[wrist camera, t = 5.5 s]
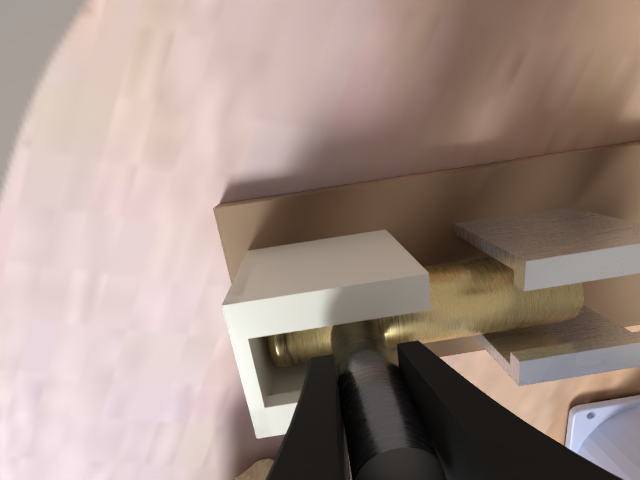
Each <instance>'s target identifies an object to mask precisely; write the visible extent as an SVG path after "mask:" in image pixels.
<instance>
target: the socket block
mask: <svg viewBox="0 0 640 480" xmlns="http://www.w3.org/2000/svg"><path fill="white" fill-rule="evenodd" d="M222 309H223V313H224V316H225V320H226V324H227V328H228V332H229V335H230V339H231V343H232V347H233V351H234V355H235V358H236V362H237V366H238V370H239V374H240V377H241V381H242V385H243V389H244V393H245V396H246V400H247V404H248V408H249V412H250V415H251V419H252V423H253V427H254V431H255V435H256V438H257V439H259V438H265V437H271V436H277V435H283V434H286V432H287V430H288V427H289V425H290V422H291V420H292V417H293V414H294V411H295V408H296V405H297V403H298V400H299V397H300V394H301V390H302V387H303V384H304V380H305V376H306V371H307V366H308V362H304V363H298V364H294V365H293V366H288V367H282V368H275V367H274V365H273V362H272V359H271V356H270V351H269V347H268V341H267V336H269V335H275V334H282V333H288V332H294V331H301V330H307V329H313V328H320V327H326V326H332V325H339V324H345V323H351V322H358V321H364V320H370V319H376V318H383V317H389V316H395V315H402V314H408V313H414V312H421V311H427V310H431V307H430V282H429V273H428V272H427V271H426V270H425V269H424V268H423V267H422V266H421V265H420V264H419V263H418V262H417V261H416V259H415V258H414V257H413V256H412V255H411V254H410V253H409V252H408V251H407V250H406V249H405V248H404V247H403V246H402V245H401V244H400V243H399V242H398V241H397V240H396V239H395V238H394V237H393V236H392V235H391V234H390V233H389V232H388V231H387V230H379V231H373V232H366V233H359V234H353V235H346V236H340V237H333V238H327V239H320V240H314V241H307V242H301V243H294V244H288V245H281V246H275V247H268V248H262V249H255V250H248V251H247V253H246V255H245V257H244V259H243V262H242V264H241V266H240V268H239V270H238V272H237V274H236V276H235V278H234V281H233V283H232V285H231V287H230V289H229V291H228V293H227V295H226V298H225V300H224V302H223V304H222ZM391 351H392V353H393V356H394V358H395V360H396V362H397V365H398V367H399V364H398V352H397V348H392V349H391Z"/></svg>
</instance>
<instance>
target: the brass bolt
mask: <svg viewBox="0 0 640 480" xmlns="http://www.w3.org/2000/svg"><path fill="white" fill-rule="evenodd" d="M423 268H424V269H425V270H426V271H427V272H428V273H429V282H430V307H431V310H427V311H421V312H414V313H408V314H402V315H395V316H389V317H383V318H376V319H370V320H364V321H358V322H351V323H345V324H339V325H332V326H326V327H320V328H313V329H307V330H301V331H294V332H288V333H282V334H275V335H269V336H267V341H268V347H269V351H270V356H271V359H272V362H273V365H274V367H275V368H282V367H288V366H293V365H294V364H298V363H304V362H308V361H309V360H310V359H311V358H312V357H317V356H323V355H330V354H333V357H334V363H335V369H336V376H337V382H338V389H339V395H340V402H341V409H342V417H343V423H344V429H345V436H346V442H347V448H348V455H349V461H350V467H351V474H352V480H447V479H446V475H445V472H444V469H443V467H442V464H441V462H440V460H439V458H438V455H437V453H436V451H435V449H434V446H433V444H432V442H431V439H430V437H429V435H428V433H427V430H426V428H425V426H424V424H423V421H422V419H421V417H420V415H419V412H418V410H417V408H416V405H415V403H414V401H413V399H412V396H411V394H410V392H409V390H408V387H407V385H406V383H405V381H404V378H403V376H402V374H401V372H400V369H399V367H398V365H397V362H396V360H395V358H394V356H393V353H392V351H391V349H392V348H397V344H398V343H405V342H411V341H417V340H418V341H420V342H421V343H422V344H423V343H429V342H435V341H441V340H448V339H454V338H460V337H466V336H473V335H479V334H485V333H491V332H498V331H504V330H510V329H516V328H523V327H529V326H535V325H541V324H548V323H554V322H560V321H566V320H571V319H573V318H575V317H576V316H577V315H578V314H579V313H580V311H581V309H582V306H583V302H584V290H583V285H582V282H581V283H574V284H568V285H562V286H555V287H549V288H543V289H536V290H530V291H523V290H521V289H520V288H518V287H517V286H515V285H514V270H513V269H511V268H510V267H508V266H506V265H505V264H503V263H501V262H500V261H498V260H496V259H495V258H493V257H486V258H479V259H473V260H467V261H460V262H454V263H447V264H441V265H435V266H428V267H423Z"/></svg>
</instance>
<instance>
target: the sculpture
mask: <svg viewBox="0 0 640 480" xmlns="http://www.w3.org/2000/svg"><path fill="white" fill-rule="evenodd" d="M273 462H274V460H272V459H269V458H267V459H261V460H258V461H256V462H255V463H254V464H253V465H252V466H251V467H249V468H248V469H247V470H246V471H245V472H244V473H242V474H241V475H239V476H238V477H237V478H235V479H234V480H265V479H266V477H267V475H268V473H269V471H270V469H271V467H272V464H273Z"/></svg>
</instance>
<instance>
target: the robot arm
mask: <svg viewBox="0 0 640 480" xmlns="http://www.w3.org/2000/svg"><path fill="white" fill-rule="evenodd" d="M397 352H398V364H399V369H400V372H401V374H402V376H403V378H404V381H405V383H406V385H407V387H408V390H409V392H410V394H411V396H412V399H413V401H414V403H415V405H416V408H417V410H418V412H419V415H420V417H421V419H422V421H423V424H424V426H425V428H426V430H427V433H428V435H429V437H430V439H431V442H432V444H433V446H434V449H435V451H436V453H437V455H438V458H439V460H440V462H441V464H442V467H443V469H444V472H445V475H446V479H447V480H640V395H636V396H630V397H624V398H618V399H612V400H606V401H600V402H594V403H588V404H582V405H577V406H574V407H573V408H571V410H570V412H569V418H568V426H567V435H566V443H565V446H563V445H562V444H560V443H558V442H557V441H555V440H554V439H552V438H550V437H549V436H547V435H545V434H544V433H542V432H540V431H539V430H537V429H536V428H534V427H533V426H531V425H529V424H528V423H526V422H525V421H523V420H522V419H520V418H519V417H517V416H516V415H515V414H513V413H512V412H510V411H509V410H507V409H506V408H504V407H503V406H501V405H500V404H499V403H497V402H496V401H495V400H493V399H492V398H490V397H489V396H488V395H486V394H485V393H484V392H482V391H481V390H480V389H478V388H477V387H476V386H474V385H473V384H472V383H471V382H469V381H468V380H467V379H465V378H464V377H463V376H461V375H460V374H459V373H458V372H456V371H455V370H454V369H453V368H451V367H450V366H449V365H448V364H447V363H445V362H444V361H443V360H442V359H440V358H439V357H438V356H437V355H436V354H434V353H433V352H432V351H431V350H430V349H428V348H427V347H426V346H425V345H424V344H422V343H421V342H420V341H418V340H417V341H411V342H405V343H398V344H397ZM265 480H350V474H349V460H348V448H347V442H346V436H345V429H344V423H343V417H342V409H341V402H340V395H339V389H338V382H337V376H336V369H335V363H334V357H333V354H330V355H323V356H317V357H312V358H311V359H310V360H309V361H308V366H307V371H306V376H305V380H304V384H303V387H302V390H301V394H300V397H299V400H298V403H297V405H296V408H295V411H294V414H293V417H292V420H291V422H290V425H289V427H288V430H287V432H286V434H285V437H284V439H283V442H282V444H281V446H280V449H279V451H278V453H277V456H276V458H275V460H274V462H273V464H272V467H271V469H270V471H269V473H268V475H267V477H266V479H265Z"/></svg>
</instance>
